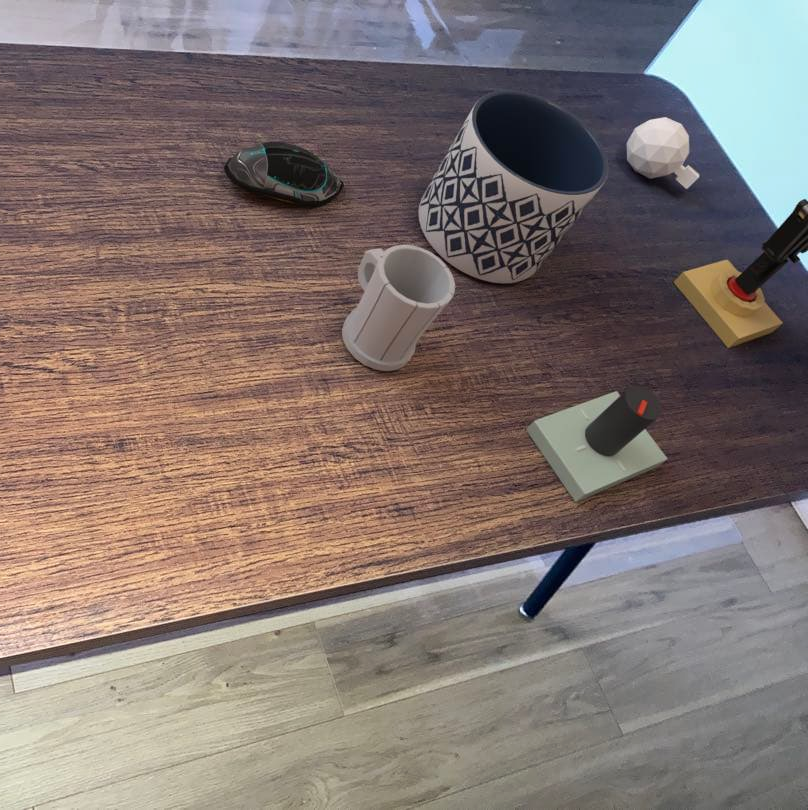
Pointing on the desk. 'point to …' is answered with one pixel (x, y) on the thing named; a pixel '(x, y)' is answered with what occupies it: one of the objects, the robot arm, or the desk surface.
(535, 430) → the control panel
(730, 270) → the power box
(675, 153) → the perfume bottle
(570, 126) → the planter
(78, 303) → the desk surface
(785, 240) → the robot arm
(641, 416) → the dial
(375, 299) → the cup
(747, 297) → the power button
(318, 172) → the computer mouse
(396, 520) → the desk surface
